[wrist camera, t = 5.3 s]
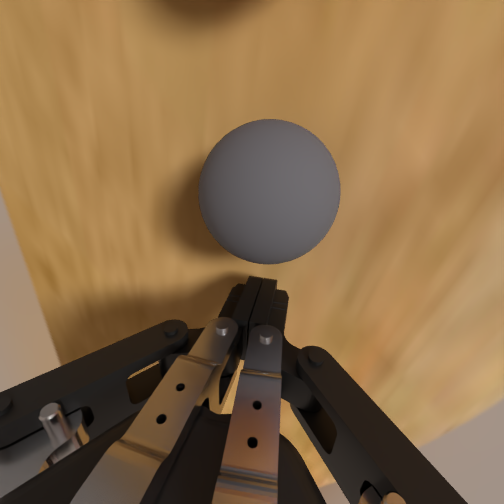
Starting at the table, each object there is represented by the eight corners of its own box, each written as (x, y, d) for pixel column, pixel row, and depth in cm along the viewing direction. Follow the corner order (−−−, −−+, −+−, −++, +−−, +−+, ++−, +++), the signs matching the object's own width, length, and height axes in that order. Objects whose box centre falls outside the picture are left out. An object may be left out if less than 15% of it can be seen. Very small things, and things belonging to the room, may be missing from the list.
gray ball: (173, 267, 11) (214, 195, 15) (304, 308, 11) (310, 225, 15) (176, 131, 7) (231, 82, 11) (381, 196, 7) (362, 124, 11)
